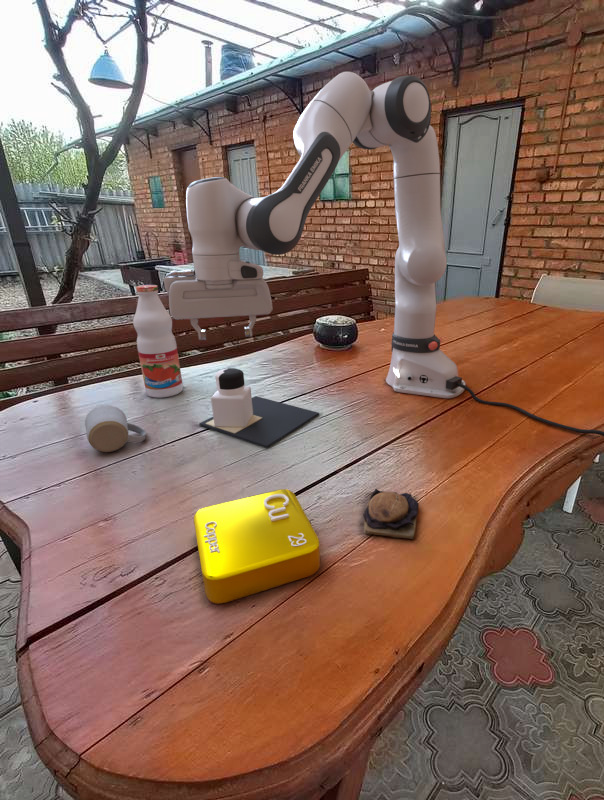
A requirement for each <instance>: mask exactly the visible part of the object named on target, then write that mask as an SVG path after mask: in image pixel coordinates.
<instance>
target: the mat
mask: <svg viewBox="0 0 604 800" xmlns="http://www.w3.org/2000/svg"><path fill="white" fill-rule="evenodd" d="M252 408H253V415H252V417H251V418H250V420H249V422H248V424H247V426H246V427H217V426H215V425H214V418H213V416H212V417H210V418H207V419H205V420H203V421H201V422H199V424H198V425H199V426H200V427H203V428H204V429H205V428H206V429H209V430H212V431H215V432H218V433H221V434H223V435H226V436H229V437H233V438H236V439H238V440H242V441H245V442H248V443H251V444H254V445H257V446H259V447H262V448H266V449H269V448H270V447H272V446H273V445H275V444H276V443H278V442H279V441H281V440H283V439H284V438H285V437H287V436H288V435H290V434H291V433H293V432H295V431H296V430H298V429H300V428H302V427H303V426H304V425H306V424H308V423H309V422H310V421H312V420H314V419H315V418H317V417H318V416H320V412H319V411H318V412H317V411H314V410H311V409H307V408H303V407H298V406H295V405H291V404H288V403H283V402H280V401H275V400H272V399H268V398H265V397H261V396H257V395H255V396H253V397H252Z"/></svg>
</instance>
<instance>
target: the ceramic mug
mask: <svg viewBox="0 0 604 800" xmlns="http://www.w3.org/2000/svg"><path fill="white" fill-rule="evenodd" d="M84 425H85V431H86V438H87V441H88V443H89V445H90V446H91V447H92V448H93V449H94V450H96V451H98V452H102V453H112V452H115V451H118V450H120V449H121V448H123V447H124V446H125V444H126V443H142V442H143V441H145V440H146V436H147V430H146V429H144V428H143V427H141V426H140V425H136V424H134V423H129V422H128V419H127V416H126V414H125V412H124V411H123V410H122V409H120V408H119V407H117V406H114V405H109V404H103V405H98V406H96V407H93V408H92V409H91V410H89V411H88V413H87V414H86V416H85V419H84ZM129 432H132V433H136V434H138V435H134V434H133V435H132V434H129Z"/></svg>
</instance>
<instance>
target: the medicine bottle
mask: <svg viewBox="0 0 604 800" xmlns="http://www.w3.org/2000/svg"><path fill="white" fill-rule="evenodd" d="M214 378H215V385H216V386H215V387H216V391H215V392H214V393H213V395H212V396H211V397H210V401H211V403H210V404H211V409H212V417H213V418H214V425H215V426H217V427H246V426H247V424H248V422H249V420H250V418H251V417H252V415H253V408H252V398H253V397H252V387H251V386H249V385H247V386H246V385H245V373H244V371H243V370H241V369H239V368H235V367H226V368H223V369H220V370H218V371H216V372H215V374H214Z"/></svg>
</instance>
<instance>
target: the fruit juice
mask: <svg viewBox="0 0 604 800" xmlns="http://www.w3.org/2000/svg"><path fill="white" fill-rule="evenodd" d="M135 292H136V293H137V294H138V298H137V305H136V310H135V313H134V315H133V319H132V323H133V328H134V330H135V332H136V334H137V338H136V349H137V353H138V358H139V363H140V368H141V374H142V379H143V383H144V389H145V393H146V394H147V396H148V397H151V398H156V399H157V398H161V399H162V398H168V397H173V396H176V395H178V394H180V393H181V392H182V391H183V389H184V383H183V378H182V371H181V365H180V359H179V352H178V345H177V340H176V336H175V335H174V334H173V317H172V316H171V315H170V312H168V311H167V309H166V308H165V306H164V304H163V302H162V299H161V298H160V296H159V294H158V293H159V287H158V285H156V284H142V285H141V284H140V285H137V286H136V287H135Z"/></svg>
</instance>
